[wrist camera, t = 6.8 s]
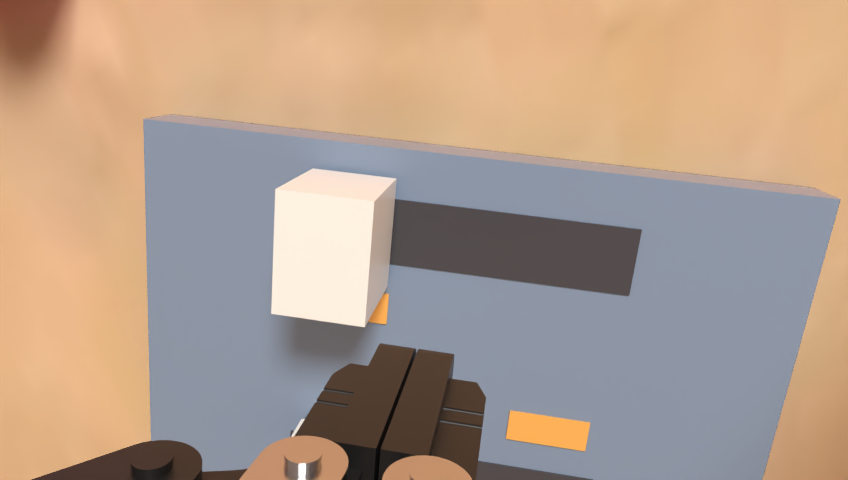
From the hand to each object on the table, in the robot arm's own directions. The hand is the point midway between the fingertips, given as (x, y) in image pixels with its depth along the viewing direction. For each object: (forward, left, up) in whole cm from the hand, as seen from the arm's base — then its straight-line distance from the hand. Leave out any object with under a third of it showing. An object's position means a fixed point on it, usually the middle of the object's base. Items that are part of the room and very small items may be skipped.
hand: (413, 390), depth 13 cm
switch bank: (0, +5, -13) cm, 14 cm away
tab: (+4, 0, -11) cm, 11 cm away
